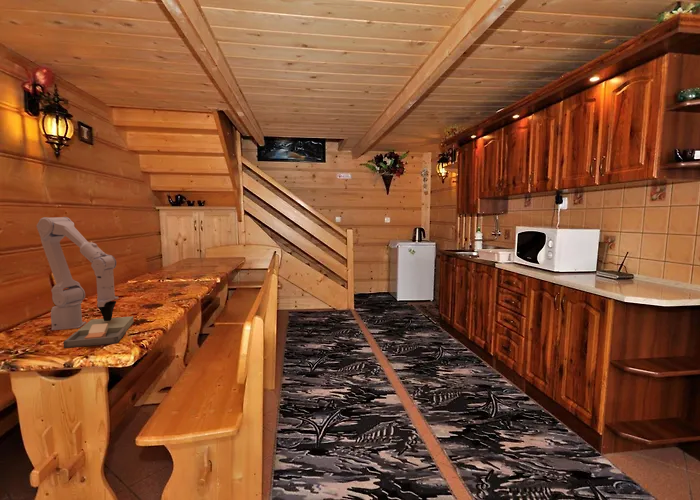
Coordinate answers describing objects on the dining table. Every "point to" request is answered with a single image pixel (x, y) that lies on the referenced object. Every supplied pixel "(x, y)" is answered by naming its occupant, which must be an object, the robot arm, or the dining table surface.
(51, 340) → the dining table surface
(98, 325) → the cream tile
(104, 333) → the terracotta tile
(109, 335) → the box
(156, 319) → the dining table surface
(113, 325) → the beige square slab
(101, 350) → the dining table surface
